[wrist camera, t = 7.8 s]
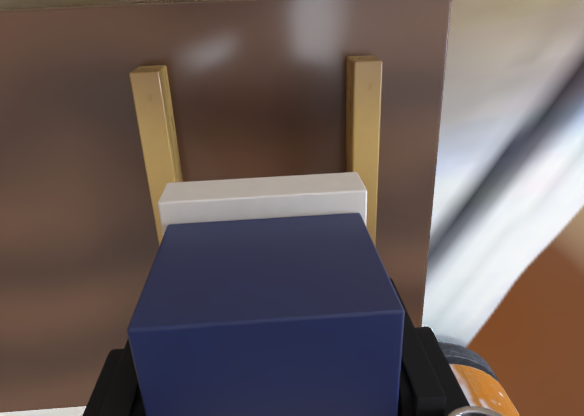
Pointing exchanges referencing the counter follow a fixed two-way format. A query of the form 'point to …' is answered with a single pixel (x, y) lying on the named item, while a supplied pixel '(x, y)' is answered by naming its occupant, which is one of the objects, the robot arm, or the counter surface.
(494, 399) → the canister
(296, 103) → the brown rectangular slab
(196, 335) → the blue box
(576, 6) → the counter surface
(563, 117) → the counter surface
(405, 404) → the robot arm
